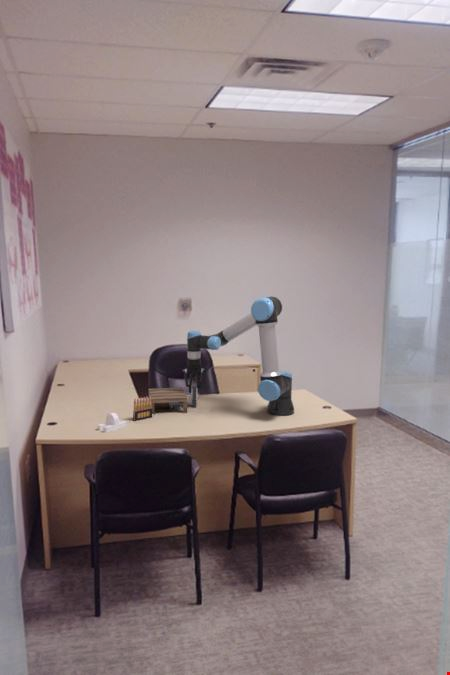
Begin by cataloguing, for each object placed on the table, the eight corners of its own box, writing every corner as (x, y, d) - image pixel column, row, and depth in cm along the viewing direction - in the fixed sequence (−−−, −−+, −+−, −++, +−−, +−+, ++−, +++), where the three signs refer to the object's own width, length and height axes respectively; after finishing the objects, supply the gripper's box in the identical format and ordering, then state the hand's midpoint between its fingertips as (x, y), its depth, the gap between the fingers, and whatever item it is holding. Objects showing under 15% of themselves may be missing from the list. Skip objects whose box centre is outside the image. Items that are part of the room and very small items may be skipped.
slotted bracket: (118, 423, 258) (118, 409, 257) (127, 426, 254) (126, 411, 252) (97, 430, 248) (97, 414, 247) (106, 433, 244) (105, 417, 242)
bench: (187, 412, 277) (187, 397, 276) (150, 414, 274) (150, 399, 272) (182, 401, 301) (182, 387, 299) (148, 402, 297) (148, 388, 296)
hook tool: (196, 407, 287) (196, 386, 285) (170, 408, 284) (170, 388, 282) (195, 404, 294) (194, 384, 292) (169, 405, 291) (169, 385, 289)
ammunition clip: (134, 421, 262) (134, 398, 260) (133, 420, 263) (132, 398, 262) (152, 417, 268) (152, 395, 267) (150, 416, 270) (150, 395, 268)
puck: (181, 408, 286) (181, 407, 286) (173, 409, 285) (173, 407, 285) (180, 406, 291) (180, 404, 291) (172, 406, 290) (172, 405, 290)
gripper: (206, 356, 291) (206, 396, 294) (180, 357, 288) (180, 397, 291) (208, 358, 284) (208, 399, 287) (181, 359, 281) (181, 400, 284)
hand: (194, 398), depth 289 cm, fingers closed on hook tool, 2 cm apart
